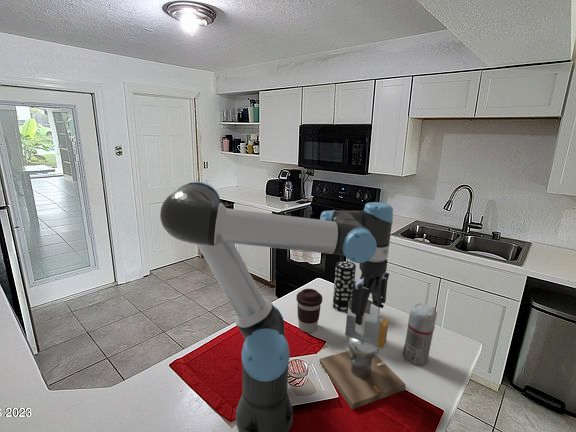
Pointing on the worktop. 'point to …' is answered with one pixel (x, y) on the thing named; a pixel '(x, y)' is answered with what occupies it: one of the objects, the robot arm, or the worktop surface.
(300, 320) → the coffee cup
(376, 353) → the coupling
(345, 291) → the white-spotted black cylinder
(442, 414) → the worktop surface
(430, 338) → the spray can
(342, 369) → the base
